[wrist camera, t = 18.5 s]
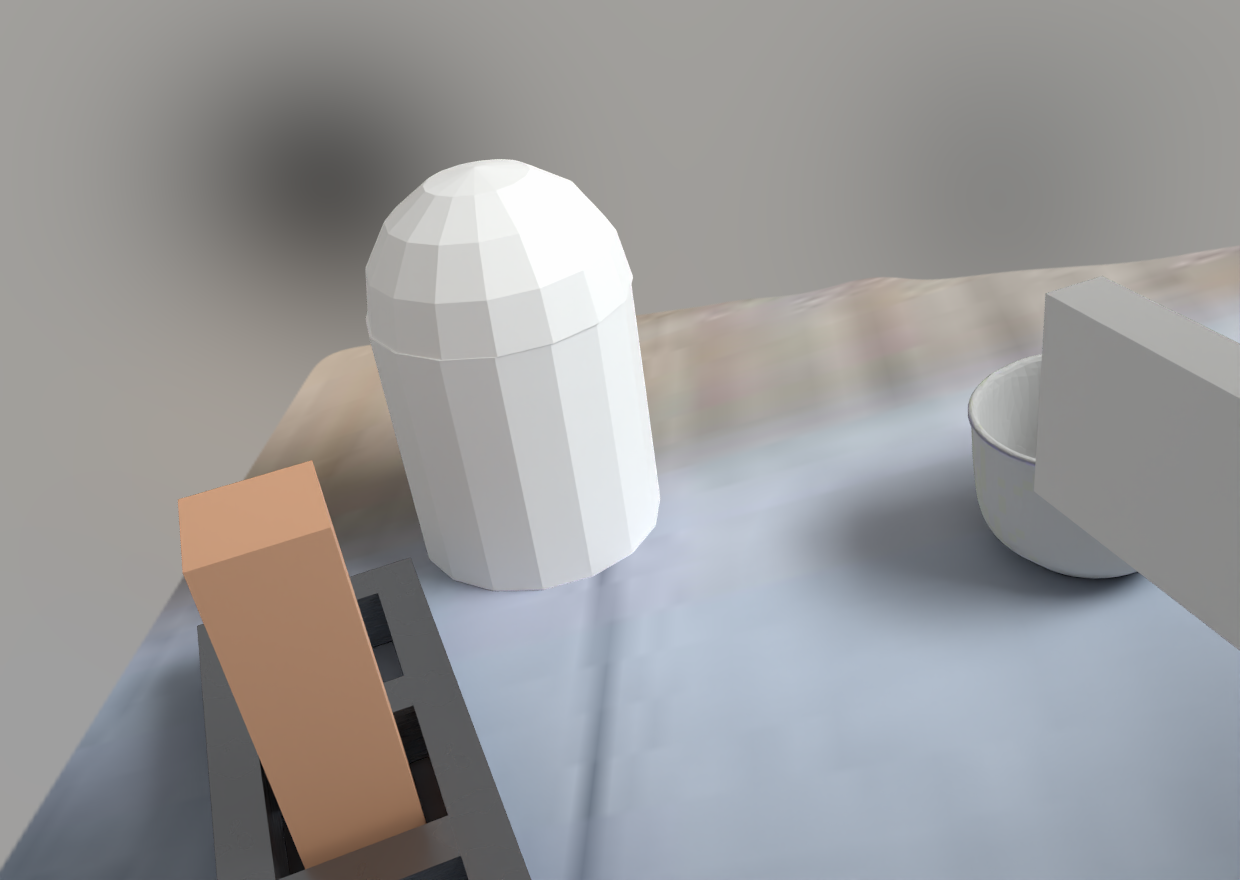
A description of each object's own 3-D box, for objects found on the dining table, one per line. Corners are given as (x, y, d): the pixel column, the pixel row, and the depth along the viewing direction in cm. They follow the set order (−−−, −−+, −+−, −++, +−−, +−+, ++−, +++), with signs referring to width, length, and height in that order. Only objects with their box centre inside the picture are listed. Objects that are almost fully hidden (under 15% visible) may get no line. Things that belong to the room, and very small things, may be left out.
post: (413, 778, 48) (312, 460, 40) (437, 860, 44) (330, 527, 36) (305, 818, 47) (178, 499, 39) (320, 905, 43) (182, 572, 35)
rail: (423, 604, 58) (410, 557, 57) (604, 1094, 36) (591, 1039, 34) (216, 672, 56) (197, 625, 54) (272, 1246, 33) (241, 1193, 32)
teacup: (1191, 633, 50) (1217, 480, 46) (940, 583, 55) (942, 440, 50) (1218, 464, 60) (1241, 326, 56) (1003, 434, 65) (1010, 306, 61)
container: (599, 427, 71) (547, 106, 61) (707, 529, 61) (666, 162, 50) (393, 502, 67) (300, 171, 57) (471, 627, 56) (374, 247, 46)
